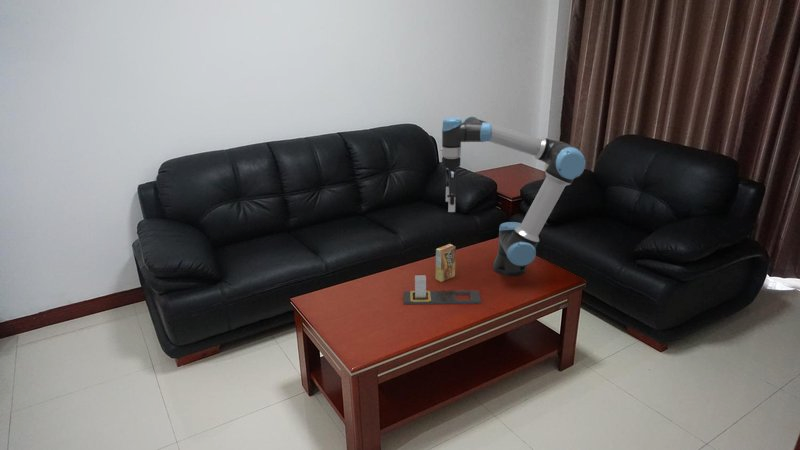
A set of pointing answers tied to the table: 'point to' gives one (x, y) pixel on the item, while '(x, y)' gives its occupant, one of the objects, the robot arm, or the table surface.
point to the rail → (443, 297)
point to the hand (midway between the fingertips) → (450, 206)
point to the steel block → (420, 287)
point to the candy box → (445, 262)
